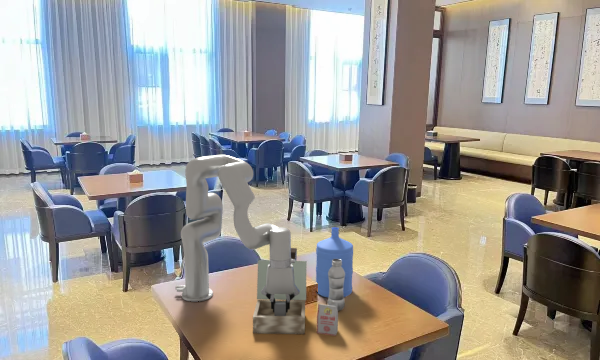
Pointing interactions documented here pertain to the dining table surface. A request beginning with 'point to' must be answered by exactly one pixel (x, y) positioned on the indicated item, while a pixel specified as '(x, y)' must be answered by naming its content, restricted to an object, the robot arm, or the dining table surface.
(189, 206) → the robot arm
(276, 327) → the box
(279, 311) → the block
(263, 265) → the lid
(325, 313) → the tea bag
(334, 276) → the plastic bottle
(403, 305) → the dining table surface
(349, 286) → the water jug
